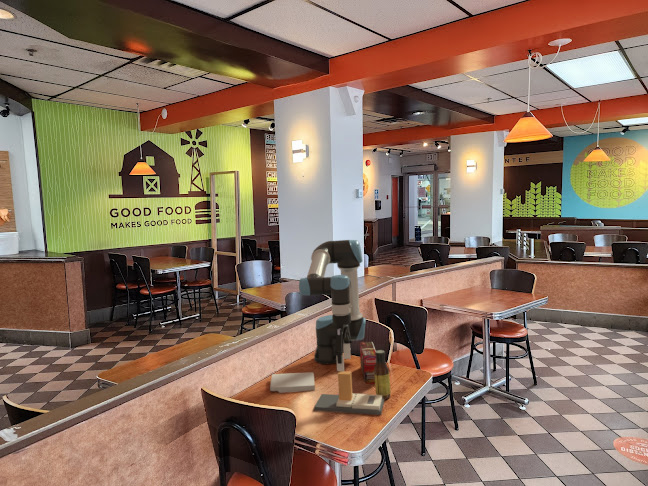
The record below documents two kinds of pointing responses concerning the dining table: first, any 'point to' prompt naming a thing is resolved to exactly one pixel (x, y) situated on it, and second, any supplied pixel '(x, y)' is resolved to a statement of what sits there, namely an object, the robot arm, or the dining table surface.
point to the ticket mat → (332, 407)
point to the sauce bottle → (381, 375)
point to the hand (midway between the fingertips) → (344, 364)
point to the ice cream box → (368, 361)
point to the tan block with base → (345, 389)
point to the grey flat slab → (292, 382)
